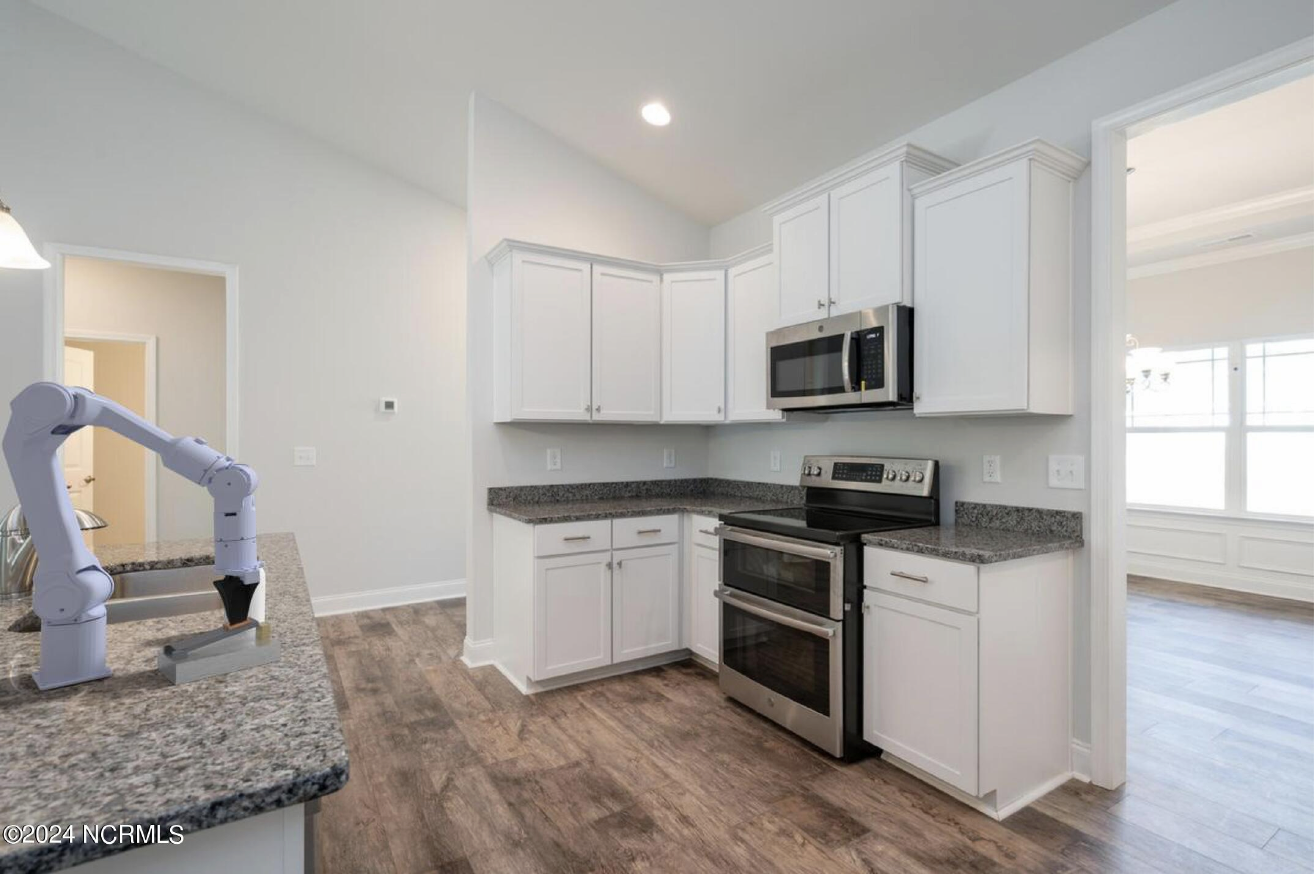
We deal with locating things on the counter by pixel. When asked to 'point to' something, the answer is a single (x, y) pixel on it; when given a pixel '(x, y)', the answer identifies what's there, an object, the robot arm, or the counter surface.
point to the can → (256, 602)
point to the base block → (220, 656)
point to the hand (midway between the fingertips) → (237, 622)
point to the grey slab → (215, 635)
